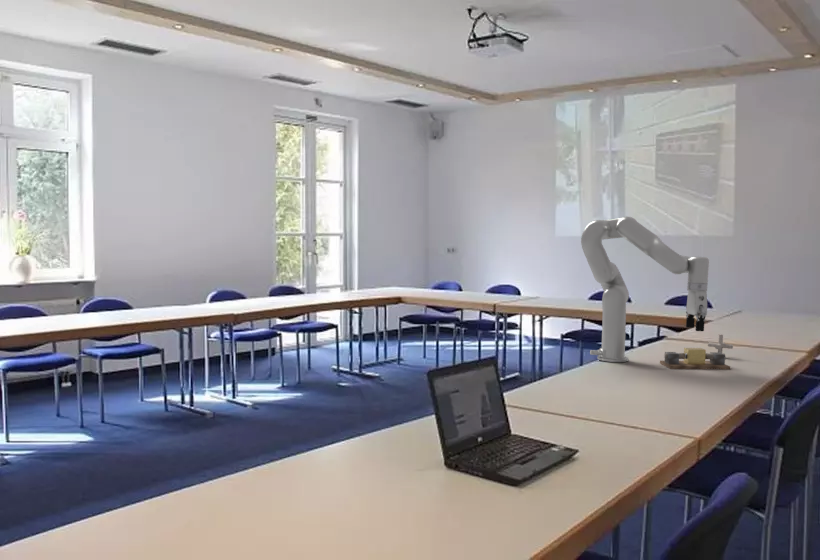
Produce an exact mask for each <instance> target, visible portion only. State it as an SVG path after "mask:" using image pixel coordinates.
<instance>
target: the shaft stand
mask: <svg viewBox="0 0 820 560" xmlns="http://www.w3.org/2000/svg"><path fill="white" fill-rule="evenodd" d="M663 356H664V357H663V358H664V360H659V364H661V365H662V366H664V367H666V368H668V369H670V370H731V366H730V365H728V364H726V354H725V353H723V352H722V353H720V352H718V351H716V352H715V351H714V352H711V351H710V352H709V353H708V352H707V353H706V355H705V365H701V364H686V363H684V359H685V353H684V352H676V351H664V355H663Z"/></svg>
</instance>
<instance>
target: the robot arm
mask: <svg viewBox="0 0 820 560" xmlns="http://www.w3.org/2000/svg"><path fill="white" fill-rule="evenodd" d="M620 238H623V239H624V240H626V241H627V242H629V243H630V244H632V245H633V246H634V247H637V248H638V249H639V250H640V251H641V252H643V253H644V254H645V255H646V256H648V257H650V258H651V259H653V260H654V261H655V262H656V263H658V264H659V265H660V266H661V267H663V268H665V270H667V271H669V272H670V273H672V274H674V275H682V274H687V286H686V287H687V288H686V289H687V291H688V292H687V298H686V299H687V300H686V306H685V307H686V312H685V313H686V315H685V318H686V319H685V328H690V329H693V328H695V331H696V332H704V331H705V322H706V317H707V314H708V282H709V279H708V278H709V269H710V268H709V267H710V265H709V264H710V259H709V258H708V257H706V256H687V255H683V254H682V255H681V254H679V253H678V252H676V251H675V250H674V249H672V248H671V247H670V246H668V245H667V244H666V243H665V242H663V241H662V239H660V237H659V236H658V235H656V234H655V233H654V232H653V231H651V230H650V229H648V228H647V227H646V226H644V225H643V224H641V223H640V222H639V221H637V220H636V219H635V218H634V217H633V216H627V215H625V216H623V217H619V218H613V219H610V218H609V219H595V220H592V221H591V222H588V224H587V225H586V226H585V228H584V229H583V231H582V233H581V237H580V245H581V249H582V251H583V253H584V256H585V258H586V261H587V263H588V266H589V268H590V270H591V273H592V276H593V277H594V279H595V281H596V282H597V283H599V284H600V286H601V288H602V290H603V293H602V298H601V306H602V307H601V309H602V319H601V320H602V325H601V327H602V329H601V331H602V332H601V347H600V348H599V349H597V350H595V349H592V350H591V349H590V351H589V354H590V355H591V356H592V355H593V356H597V360H599V361H603V362H611V363H624V362H625V363H626V362H628V361H629V357H628V356H625V353H626V351H625V350H626V328H627V327H626V326H627V325H626V321H627V302H628V301H629V297H630V293H629V290H628V289H629V288H628V287H627V285H626V283H625V281H624V279H623V276H622V274H621V271H620V269H619V268H618V266H617V264H615V263H614V262H612V261H611V260H610V258H609V257H608V254H607V251H606V249H605V248H604V245H603V242H602V241H604V240H612V239H620Z"/></svg>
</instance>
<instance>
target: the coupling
mask: <svg viewBox="0 0 820 560" xmlns="http://www.w3.org/2000/svg"><path fill="white" fill-rule="evenodd" d="M706 352H707V350H706V349H705V348H701V347H684V348H683V353H685V359H683V361H684V363H686V364H701V365H705V361H706V359H705V355H706Z"/></svg>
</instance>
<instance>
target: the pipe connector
mask: <svg viewBox="0 0 820 560" xmlns="http://www.w3.org/2000/svg"><path fill="white" fill-rule="evenodd" d="M717 336H718V337H717V338H718V339H717V342H710V341H709V342H708V343H707V346H708V347H709V348H715V350H717V352H720V353H723V349H728V350H729V349H731V350H733V348H734V345H733V344H731V343H730V344H728V343H725V342H724V334H721V333H719V334H718V335H717Z"/></svg>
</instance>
